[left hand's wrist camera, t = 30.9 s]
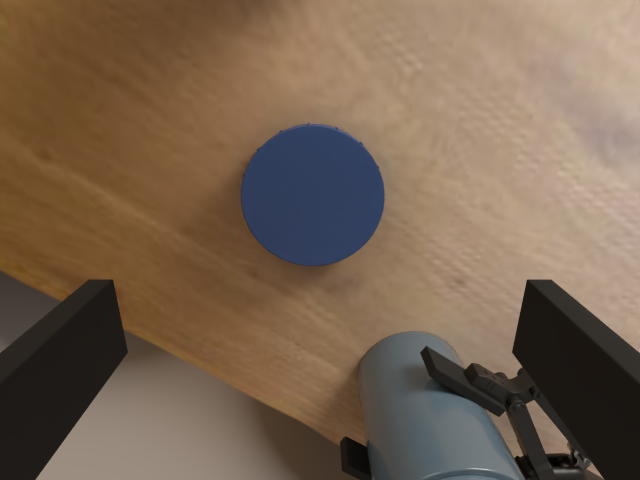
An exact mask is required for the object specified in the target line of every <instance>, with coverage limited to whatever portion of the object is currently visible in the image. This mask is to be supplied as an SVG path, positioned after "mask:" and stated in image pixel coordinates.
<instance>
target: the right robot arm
mask: <svg viewBox="0 0 640 480" xmlns="http://www.w3.org/2000/svg"><path fill="white" fill-rule="evenodd" d="M420 354H421V357H422V359H423V362H424V364H425V366H426V369H427V371H428V374H429V376H430V377H431V378H433V379H435V380H437V381H438V382H440V383H442V384H443V385H445V386H447V387H449V388H450V389H452V390H454V391H455V392H457V393H459V394H461V395H462V396H464V397H466V398H467V399H469V400H471V401H473V402H474V403H476V404H478V405H479V406H481V407H483V408H485V409H486V410H488V411H490V412H491V413H493V414H495V415H497V416H498V417H500V416H501V415H502V414H503V413H504V412H505V411H506V414H507V416H508V418H509V421H510V423H511V425H512V428H513V430H514V432H515V435H516V437H517V439H518V440H517V441H518V443H519V446H520V448H521V450H522V453H523V455H524V456H522V457H519V456H516V457H515V458H514V459H515V461H516V463H517V464H518V466H519V468H520V470H521V472H522V474H523V476H524V477H525V479H526V480H604V479H602V478H601V477H599V476H597V475H596V474H594V473H592V472H591V471H589V470H587V469H586V468H587V467H588V466H590V465H591V464H592V462H591V460H590V459H589V457H588V456H587V455H586V453H585V452H584V451H583V449H582V448H581V446H580V445H579V444H578V442H577V441H576V440H575V438H574V437H573V435H572V434H571V433H570V431H569V430H568V428H567V427H566V426H565V424H564V423H563V422H562V420H561V419H560V417H559V416H558V415H557V413H556V412H555V411H554V409H553V408H552V406H551V405H550V404H549V402H548V401H547V400H546V398H545V397H544V395H543V394H542V393H541V391H540V390H539V389H538V387H537V386H536V384H535V383H534V382H533V380H532V379H531V378H530V376H529V375H528V373H527V372H526V371H525V369H524V368H523V367H522V368H521V369H519V371H518V372H517V375H518V376H517V377H515V378H513V379H508V378H507V376H506V375H505V374H504V373H502V372H498V373H495V374H494V373H492V372H490V371H488V370H487V369H486V368H484V367H482V366H481V365H479V364H474V363H471V364H470V366H469V367H468V368H467V369H464V368H462V367H461V366H459V365H458V364H456V363H454V362H453V361H451V360H449V359H448V358H446V357H444V356H443V355H441V354H439V353H438V352H436V351H434V350H433V349H431V348H429V347H428V346H425V348H424V349H423V350H422V351H421V352H420ZM532 400H535V401H536V402H537V403H538V405H539V406H540V407H541V408H542V409H543V411H544V412H545V413H546V414H547V415H548V417H549V418H550V419H551V420H552V421H553V423H554V424H555V425H556V426H557V427H558V429H559V430H560V431H561V432H562V434H563V435H564V436H565V437H566V439H567V440H568V443H567V447H568V448H569V450H570V451H571V453H570V455H569V454H565V453H558V454H545V452H544V449H543V447H542V444H541V442H540V439H539V437H538V434H537V432H536V429H535V427H534V424H533V422H532V420H531V417H530V415H529V412H528V410H527V407H526V405H525V404H526V403H528V402H530V401H532ZM340 446H341V460H342V471H344V472H346V473H348V474H350V475H352V476H354V477H356V478H358V479H360V480H372V479H371V472H370V465H369V458H368V451H367V447H365V446H364V445H362V444H360V443H358V442H356V441H354V440H352V439H350V438H348V437H346V436H345V437H344V438H343V439H342V441H341V442H340Z"/></svg>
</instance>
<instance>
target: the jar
mask: <svg viewBox="0 0 640 480" xmlns="http://www.w3.org/2000/svg"><path fill="white" fill-rule="evenodd" d="M425 346H428V347H429V348H431V349H433V350H434V351H436V352H438V353H439V354H441V355H443V356H444V357H446V358H448V359H449V360H451V361H453V362H454V363H456V364H458V365H459V366H461V367H462V368H464V369H465V367H464V365H463V363H462V362H461V360H460V358H459V356H458V354H457V353H456V351H455V350H454V349H453V347H452V346H451V345H450V344H448V343H447V342H446V341H444V340H443V339H441V338H439V337H437V336H435V335H432V334H429V333H424V332H404V333H399V334H395V335H392V336H389V337H387V338H385V339H383V340H381V341H380V342H378V343H377V344H376V345H374V346H373V347H372V348H371V349H370V350H369V351H368V352H367V353H366V355H365V356H364V358H363V359H362V361H361V363H360V366H359V369H358V374H357V382H358V389H359V396H360V403H361V410H362V417H363V424H364V431H365V437H366V444H367V451H368V458H369V465H370V472H371V479H372V480H526V479H525V477H524V476H523V474H522V472H521V470H520V468H519V466H518V464H517V463H516V461H515V459H514V457H513V455H512V453H511V452H510V450H509V448H508V446H507V444H506V442H505V441H504V439H503V437H502V435H501V433H500V431H499V430H498V428H497V426H496V424H495V422H494V420H493V419H492V417H491V415H490V413H489V411H488V410H486V409H485V408H483V407H481V406H479V405H478V404H476V403H474V402H473V401H471V400H469V399H467V398H466V397H464V396H462V395H461V394H459V393H457V392H455V391H454V390H452V389H450V388H449V387H447V386H445V385H443V384H442V383H440V382H438V381H437V380H435V379H433V378H431V377H430V376H429V374H428V371H427V369H426V366H425V364H424V362H423V359H422V357H421V354H420V352H421V351H422V350H423V349H424V348H425Z"/></svg>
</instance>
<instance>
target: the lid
mask: <svg viewBox="0 0 640 480" xmlns="http://www.w3.org/2000/svg"><path fill="white" fill-rule="evenodd" d="M384 195H385V194H384V186H383V180H382V177H381V173H380V171H379V167H378V166H377V164H376V163H375V161H374V159H373V158H372V156H371V155H370V154H369V152H368V151H367V150H366V149H365V148H364V147H363V144H362V143H361V142H358V141H357V140H356V139H355V138H353V137H352V136H351V135H349V134H347V133H346V132H344V131H342V130H340V129H338V128H337V127H336V128H334V127H331V126H326V125H320V124H309V123H308V124H304V125H299V126H294V127H291V128H288V129H286V130H284V131H282V130H281V131H280V132H279V133H278V134H276V135H275V136H273V137H272V138H271V139H269V140H268V141H267V142H266V143H265V144H264V145H263V146H262V147H260V148H259V149H257V152H256V154H255V155H254V156H253V158H252V160H251V161H250V163H249V165H248V167H247V169H246V171H245V174H244V178H243V181H242V188H241V203H242V210H243V214H244V217H245V220H246V222H247V225H248V227H249V229H250V230H251V232H252V234H253V235H254V236H255V238H256V239H257V240H258V241H259V242H260V244H261V245H262V246H263V247H264V248H266V249H267V250H268V251H269V252H271V253H272V254H274V255H276V256H277V257H279V258H281V259H283V260H285V261H288V262H291V263H294V264H299V265H306V266H320V265H327V264H331V263H335V262H338V261H340V260H343V259H345V258H347V257H349V256H350V255H352V254H354V253H355V252H356V251H358V250H359V249H360V248H361V247H362V246H363V245H364V244H365V243H366V242H367V241H368V240H369V239H370V237H371V236H372V235H373V233H374V231H375V230H376V228H377V226H378V224H379V221H380V219H381V216H382V212H383V207H384Z"/></svg>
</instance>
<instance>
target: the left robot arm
mask: <svg viewBox="0 0 640 480" xmlns="http://www.w3.org/2000/svg"><path fill="white" fill-rule="evenodd" d="M127 353H128V351H127V346H126V341H125V336H124V331H123V326H122V321H121V317H120V312H119V307H118V302H117V297H116V292H115V287H114V283H113V280H88V281H87V282H85V283H84V284H83V285H82V286H81V287H79V288H78V289H77V290H76V291H75V292H73V293H72V294H71V295H70V296H68V297H67V298H66V299H65V300H64V301H62V302H61V303H60V304H59V305H58V306H56V307H55V308H54V309H53V310H52V311H50V312H49V313H48V314H47V315H46V316H44V317H43V318H42V319H41V320H40V321H38V322H37V323H36V324H35V325H34V326H32V327H31V328H30V329H29V330H28V331H26V332H25V333H24V334H23V335H22V336H20V337H19V338H18V339H17V340H16V341H14V342H13V343H12V344H11V345H10V346H8V347H7V348H6V349H5V350H4V351H2V352H1V353H0V480H35V479H36V478H37V477H38V475H39V474H40V472H41V471H42V470H43V468H44V467H45V466H46V464H47V463H48V462H49V460H50V459H51V457H52V456H53V455H54V453H55V452H56V451H57V449H58V448H59V446H60V445H61V444H62V442H63V441H64V439H65V438H66V437H67V435H68V434H69V433H70V431H71V430H72V428H73V427H74V426H75V424H76V423H77V422H78V420H79V419H80V417H81V416H82V415H83V413H84V412H85V411H86V409H87V408H88V406H89V405H90V404H91V402H92V401H93V400H94V398H95V397H96V395H97V394H98V393H99V391H100V390H101V389H102V387H103V386H104V384H105V383H106V382H107V380H108V379H109V378H110V376H111V375H112V373H113V372H114V371H115V369H116V368H117V366H118V365H119V364H120V362H121V361H122V360H123V358H124V357H125V355H126V354H127ZM512 353H513V354H514V355H515V357H516V358H517V360H518V361H519V362H520V364H521V365H522V366H523V368H524V369H525V371H526V372H527V373H528V375H529V376H530V378H531V379H532V380H533V382H534V383H535V384H536V386H537V387H538V389H539V390H540V391H541V393H542V394H543V395H544V397H545V398H546V400H547V401H548V402H549V404H550V405H551V406H552V408H553V409H554V411H555V412H556V413H557V415H558V416H559V417H560V419H561V420H562V422H563V423H564V424H565V426H566V427H567V428H568V430H569V431H570V433H571V434H572V435H573V437H574V438H575V440H576V441H577V442H578V444H579V445H580V446H581V448H582V449H583V451H584V452H585V453H586V455H587V456H588V457H589V459H590V460H591V462H592V463H593V464H594V466H595V467H596V468H597V470H598V471H599V473H600V474H601V475H602V477H603V478H604V479H605V480H640V353H639V352H638V351H636V350H635V349H634V348H633V347H632V346H630V345H629V344H628V343H627V342H626V341H624V340H623V339H622V338H621V337H620V336H618V335H617V334H616V333H615V332H614V331H612V330H611V329H610V328H609V327H608V326H606V325H605V324H604V323H603V322H602V321H600V320H599V319H598V318H597V317H596V316H594V315H593V314H592V313H591V312H590V311H588V310H587V309H586V308H585V307H584V306H582V305H581V304H580V303H579V302H578V301H576V300H575V299H574V298H573V297H572V296H570V295H569V294H568V293H567V292H565V291H564V290H563V289H562V288H561V287H559V286H558V285H557V284H556V283H555V282H553V281H552V280H527V283H526V287H525V292H524V297H523V302H522V307H521V312H520V317H519V321H518V326H517V331H516V336H515V341H514V346H513V351H512Z"/></svg>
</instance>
